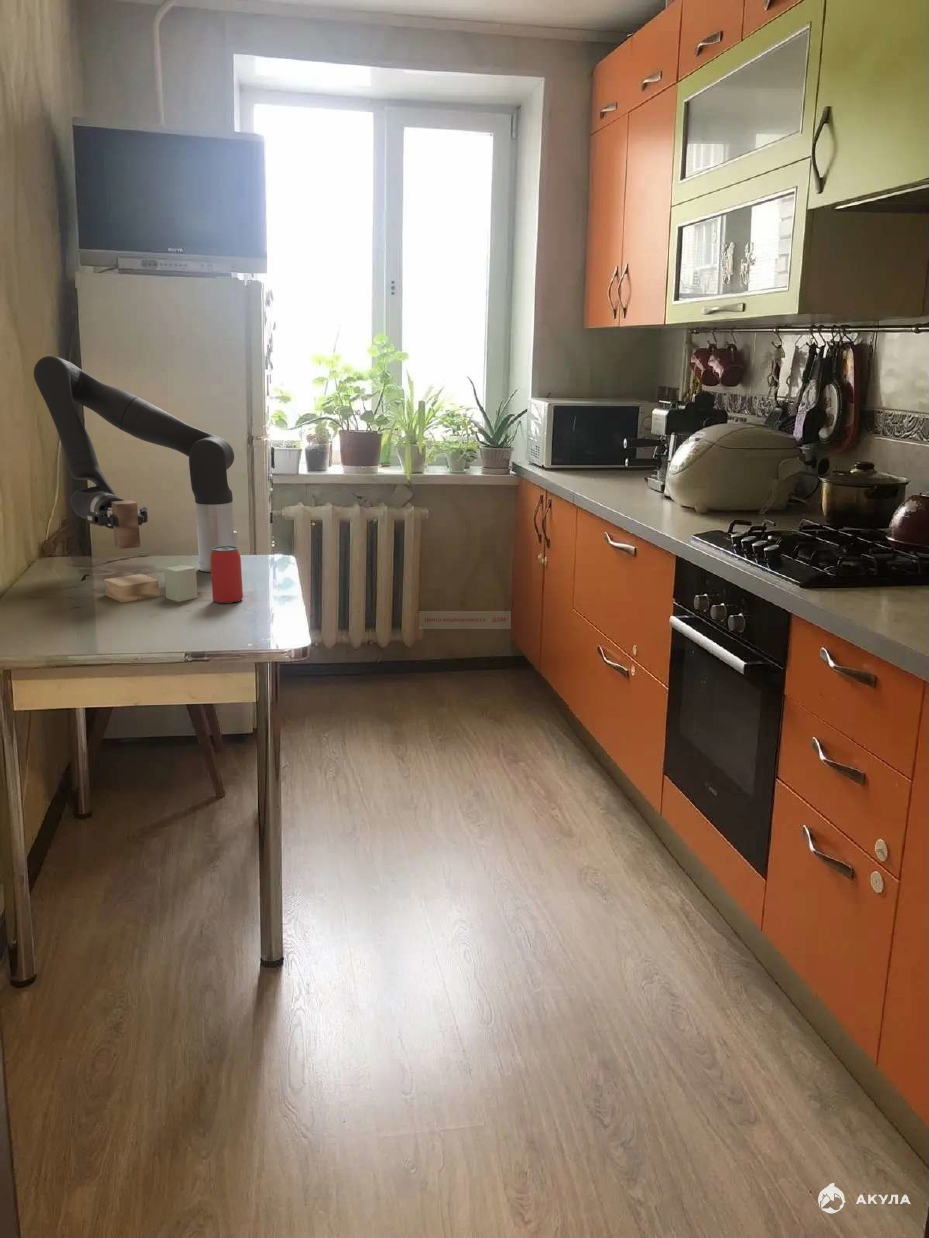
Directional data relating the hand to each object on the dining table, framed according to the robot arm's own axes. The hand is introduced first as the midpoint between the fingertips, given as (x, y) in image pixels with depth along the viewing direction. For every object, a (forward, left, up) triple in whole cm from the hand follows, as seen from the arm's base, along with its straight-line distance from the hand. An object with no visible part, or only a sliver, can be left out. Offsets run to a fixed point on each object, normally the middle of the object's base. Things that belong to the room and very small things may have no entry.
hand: (128, 521), depth 223 cm
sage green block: (-9, +5, -17) cm, 20 cm away
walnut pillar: (0, -3, -6) cm, 7 cm away
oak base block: (0, -3, -18) cm, 18 cm away
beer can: (-17, +13, -18) cm, 28 cm away
